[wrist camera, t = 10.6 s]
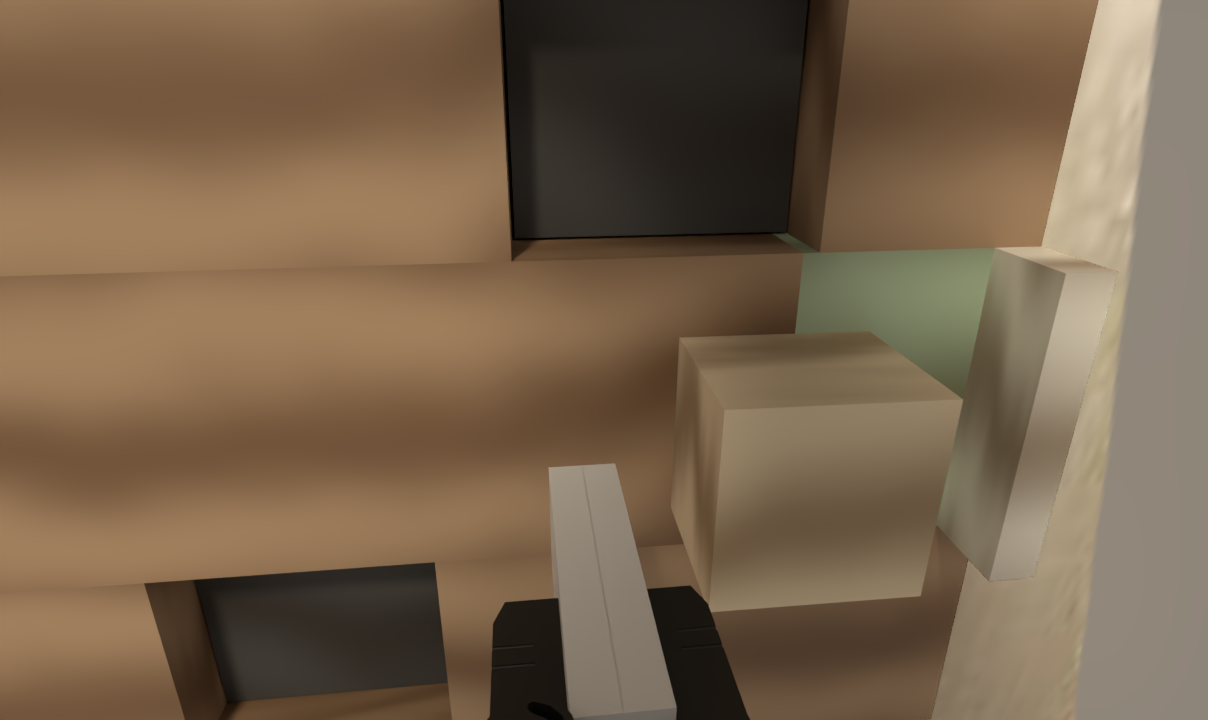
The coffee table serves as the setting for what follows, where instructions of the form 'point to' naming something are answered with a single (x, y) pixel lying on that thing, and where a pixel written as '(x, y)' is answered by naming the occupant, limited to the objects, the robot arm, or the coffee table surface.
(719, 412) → the maple block
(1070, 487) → the coffee table surface
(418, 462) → the board
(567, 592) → the robot arm
